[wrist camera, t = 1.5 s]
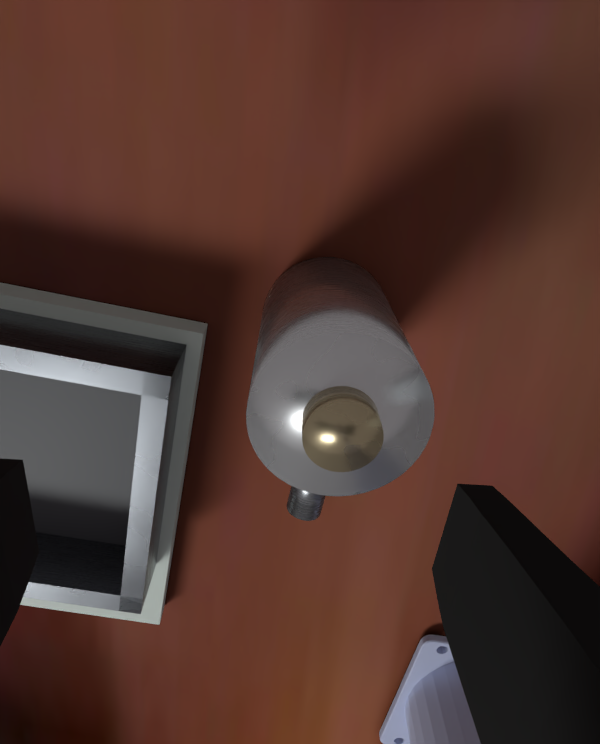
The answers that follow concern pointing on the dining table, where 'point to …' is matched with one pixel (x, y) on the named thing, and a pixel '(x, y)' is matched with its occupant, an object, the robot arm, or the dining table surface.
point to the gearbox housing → (98, 444)
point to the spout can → (334, 386)
